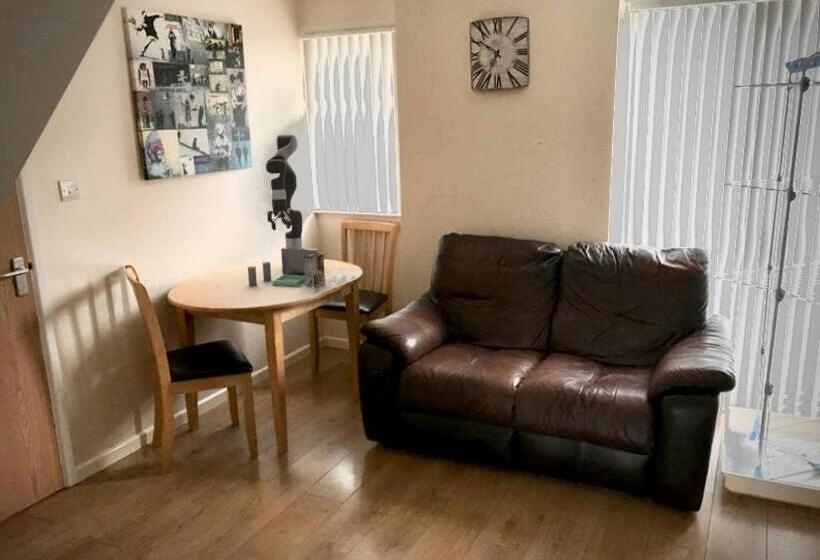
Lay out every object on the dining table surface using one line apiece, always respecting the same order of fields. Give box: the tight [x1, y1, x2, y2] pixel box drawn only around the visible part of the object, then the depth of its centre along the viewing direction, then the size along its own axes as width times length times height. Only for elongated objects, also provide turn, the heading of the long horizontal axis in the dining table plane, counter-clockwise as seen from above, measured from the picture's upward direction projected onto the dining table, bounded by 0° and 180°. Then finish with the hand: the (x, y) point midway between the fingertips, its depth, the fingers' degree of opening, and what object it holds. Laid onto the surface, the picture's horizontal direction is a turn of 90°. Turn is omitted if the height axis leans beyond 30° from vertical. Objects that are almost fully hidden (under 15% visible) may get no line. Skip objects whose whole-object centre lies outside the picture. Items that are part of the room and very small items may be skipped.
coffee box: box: [304, 252, 326, 289], centre depth 347 cm, size 9×6×16 cm
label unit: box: [280, 246, 319, 276], centre depth 363 cm, size 8×20×16 cm, turn 76°
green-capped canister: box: [262, 261, 272, 282], centre depth 358 cm, size 4×4×10 cm
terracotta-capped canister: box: [247, 265, 258, 286], centre depth 349 cm, size 4×4×10 cm
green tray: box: [271, 273, 305, 287], centre depth 354 cm, size 14×14×2 cm
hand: (281, 229), depth 352 cm, fingers open, 8 cm apart
